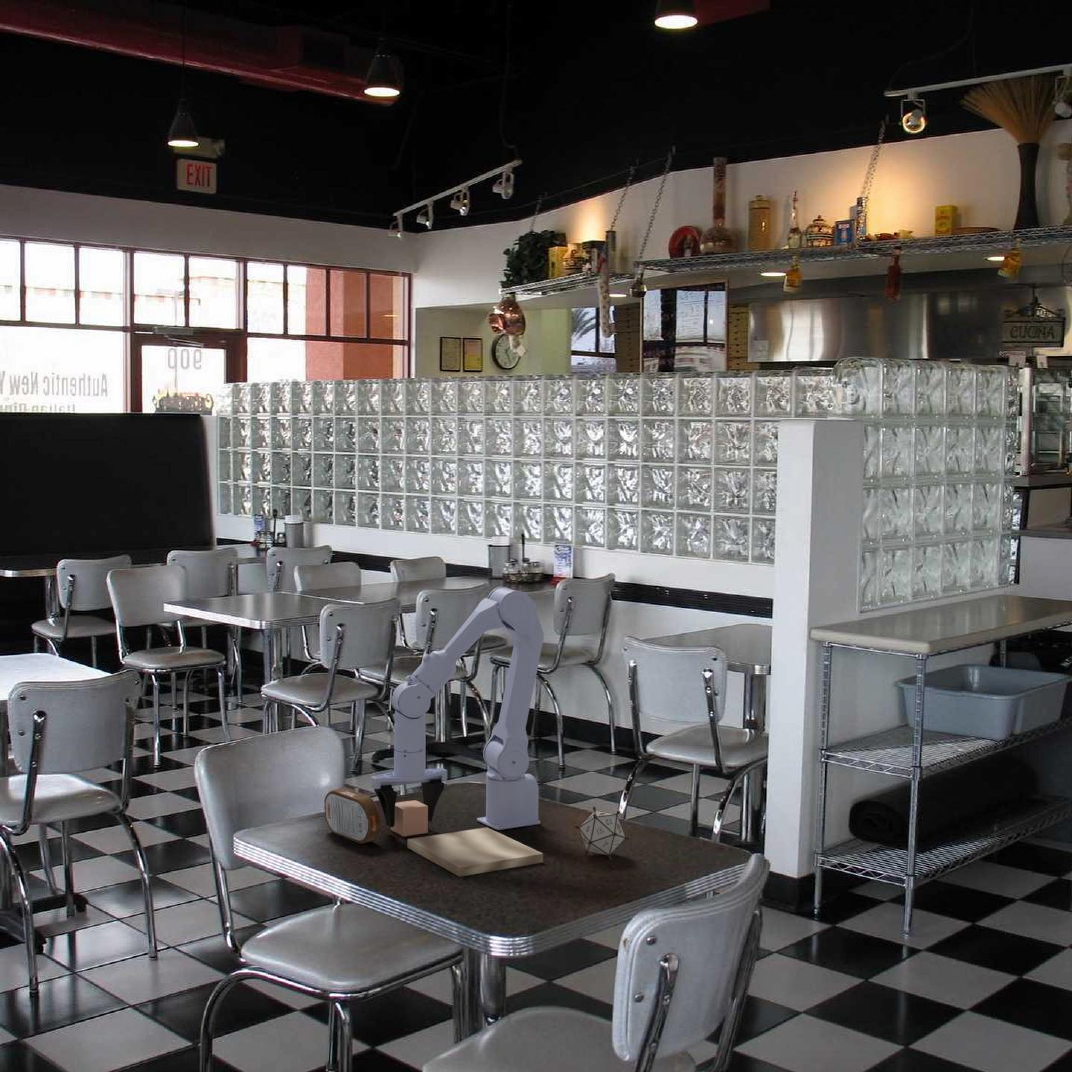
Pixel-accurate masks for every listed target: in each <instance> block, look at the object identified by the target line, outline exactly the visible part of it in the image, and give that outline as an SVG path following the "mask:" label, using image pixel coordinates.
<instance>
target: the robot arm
mask: <svg viewBox="0 0 1072 1072" xmlns="http://www.w3.org/2000/svg"><path fill="white" fill-rule="evenodd" d="M504 627H505V629H506V630H507V631H508V632H509V634H510V635H511V637H512V638H513V640H514V643H513V648H512V653H511V657H510V662H509V667H508V673H507V678H506V682H505V688H504V691H503V692H504V693H503V697H502V702H501V708H500V712H499V716H498V721H497V723H496V724H495V725H494V727H493V728H492V731H491V736H490V737H489V739H488V741H487V742H486V743H485V744H484V747H483V751H482V754H483V760H484V763H485V764H486V765H487V766H488V770H487V772H486V777H485V778H486V781H485V782H486V784H485V785H486V786H485V787H486V789H485V790H486V791H485V792H486V793H485V796H486V797H485V798H486V800H485V801H486V802H485V816H483V817H477V818H476V821H477V822H479V823H481V824H483V825H485V826H487V827H490V828H492V829H494V830H497V831H502V830H506V829H507V830H509V829H513V828H520V827H528V826H535V825H539V824H541V820H539V796H540V795H539V793H540V792H539V785H538V782H537V779H536V777H535V776H533V775H532V774H531V773H526V772H527V770H528V768H529V765H530V757H529V753H528V746H529V738H528V733H527V730H526V727H527V723H528V717H529V712H530V707H531V702H532V698H533V693H534V687H535V683H536V677H537V673H538V667H539V663H540V658H541V654H542V653H541V652H542V648H543V644H544V638H545V637H544V635H545V634H544V631H543V628H542V627H543V626H542V624H541V621H540V618H539V615H538V605H537V604H536V603H535V602H534V601H533V600H532V599H531V597H530V596H529V595H528V594H527V593H525V592H524V591H523V590H515V589H511V588H509V587H506V586H498V587H496V588H493V590H491V591H489V594H488V596H487V597H485V598H483V599H482V600H481V601H480V602H479V603H478V605H477V606H476V608H474V610H473V612H472V613H471V614H470V616H468V618H467V619H466V621H465V622H463V624H462V625H461V627H459V629H458V630H457V631H456V633H455V634H454V635H453V636H452V637H451V638H450V640H449V642H447V644H446V645H445V646H444V648H443V649H441V650H433V651H431V653H429V654H428V653H425V654H424V656H422V658H421V660H423V661H422V663H420V664H419V666H418V667H417V668H416V669H415V670H414V671H413V673H412V674H410V675H407V676H406V677H405V678H404V680H405V681H406V682H403V683H400V684H399V685H398V686H396V687H395V689H394V690H393V693H392V694H393V695H392V696H391V697H390V703H391V706H392V708H393V709H394V710H395V711H394V725H393V727H394V730H393V771H392V772H388V773H383V774H379V775H373V776H370V787H371V788H372V789H373V790H374V793H375V794H376V796H377V798H378V800H379V803H380V806H381V809H382V812H383V815H384V819H385V825H386V826H387V827H389V828H391V827H394V824H395V803H397V798H398V797H397V796H398V791H396V790H395V789H394V787H396V786H405V785H411V784H412V785H413V784H421V791H422V792H421V793H422V800H423V801H422V802H423V803H422V804H425V805H427V806H428V823H431V822H433V818H434V814H435V811H436V810H435V809H436V806H437V804H438V802H439V798H440V797H441V795H442V793H443V791H444V790H445V783H444V782H445V781H447V780H448V769H445V768H442V767H441V768H426V738H427V737H426V735H427V734H426V732H427V731H426V729H427V725H426V713H427V712H428V711H429V709H430V707H431V704H432V702H431V699H433V698H434V697H436V695H437V694H438V693H439V692H440V690H442V688H443V687H444V686H445V685H446V684H447V682H449V680H450V679H452V677H453V676H454V674H456V673H457V672H456V671H457V661H458V660H459V659H460V658H461V657H463V655H464V654H465V653H466V652H467V651H468V650H469V649H470V648H471V647H472V646H473V645H474V644H475V643H476V642H477V641H478V640H479V639H480V638H481V637H482V636H483V634H485V632H488V631H493V630H495V629H497V630H498V629H502V628H504Z"/></svg>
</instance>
